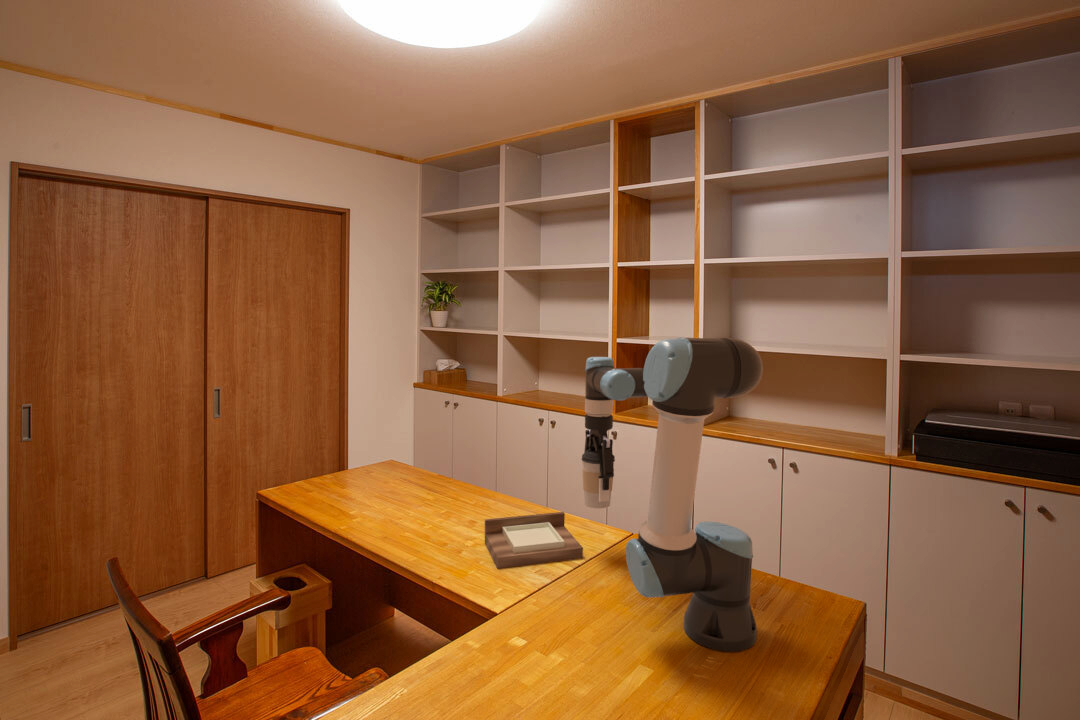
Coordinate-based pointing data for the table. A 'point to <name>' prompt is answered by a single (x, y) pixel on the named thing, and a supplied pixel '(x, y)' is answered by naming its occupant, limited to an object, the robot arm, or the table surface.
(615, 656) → the table surface
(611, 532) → the table surface
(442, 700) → the table surface
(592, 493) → the coffee cup
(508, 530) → the tray
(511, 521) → the shelf
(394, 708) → the table surface
